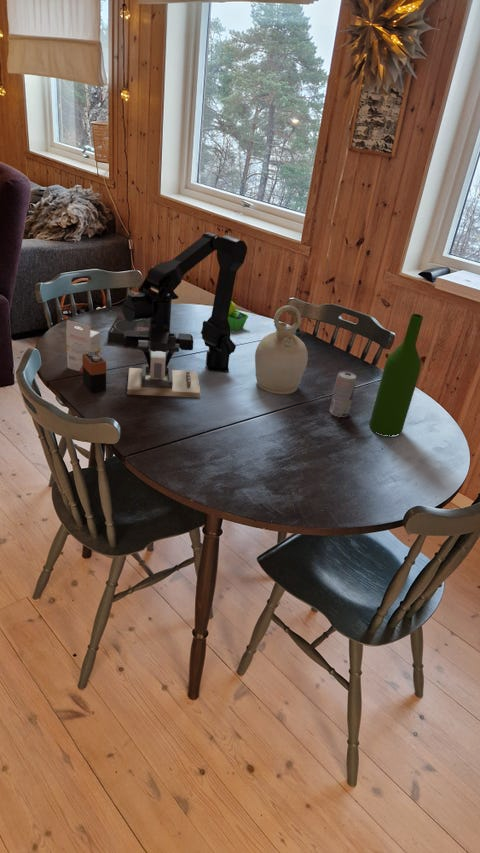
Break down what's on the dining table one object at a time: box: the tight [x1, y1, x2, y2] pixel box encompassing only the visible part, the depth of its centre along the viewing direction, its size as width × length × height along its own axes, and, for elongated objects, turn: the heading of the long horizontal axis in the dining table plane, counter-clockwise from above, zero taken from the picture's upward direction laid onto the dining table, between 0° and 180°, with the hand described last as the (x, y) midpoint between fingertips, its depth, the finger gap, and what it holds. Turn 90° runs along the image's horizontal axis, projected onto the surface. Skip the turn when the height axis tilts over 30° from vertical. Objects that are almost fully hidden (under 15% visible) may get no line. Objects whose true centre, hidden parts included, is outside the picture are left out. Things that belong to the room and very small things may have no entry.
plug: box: [150, 350, 166, 378], centre depth 158 cm, size 4×7×6 cm, turn 7°
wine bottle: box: [368, 313, 424, 436], centre depth 146 cm, size 9×9×32 cm
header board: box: [126, 364, 201, 398], centre depth 161 cm, size 20×14×4 cm
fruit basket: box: [228, 300, 249, 331], centre depth 208 cm, size 11×9×11 cm
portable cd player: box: [107, 315, 150, 347], centre depth 191 cm, size 16×17×4 cm
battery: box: [82, 351, 107, 395], centre depth 153 cm, size 4×7×10 cm, turn 34°
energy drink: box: [329, 370, 358, 418], centre depth 156 cm, size 5×5×12 cm
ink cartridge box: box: [65, 319, 101, 373], centre depth 161 cm, size 9×5×15 cm, turn 68°
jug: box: [254, 304, 309, 396], centre depth 164 cm, size 15×16×25 cm
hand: (157, 368), depth 159 cm, fingers closed on plug, 4 cm apart
